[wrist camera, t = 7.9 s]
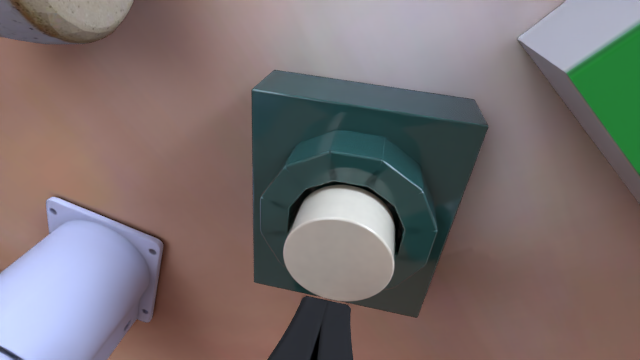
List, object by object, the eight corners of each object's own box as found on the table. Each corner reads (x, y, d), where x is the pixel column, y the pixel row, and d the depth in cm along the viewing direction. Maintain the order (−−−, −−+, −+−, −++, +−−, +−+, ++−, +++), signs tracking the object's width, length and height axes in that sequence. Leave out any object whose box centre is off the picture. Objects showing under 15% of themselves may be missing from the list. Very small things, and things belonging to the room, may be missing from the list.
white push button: (385, 270, 15) (382, 311, 14) (294, 252, 16) (280, 289, 14) (405, 194, 13) (406, 231, 11) (299, 175, 14) (284, 208, 12)
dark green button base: (415, 276, 21) (419, 353, 17) (270, 246, 22) (240, 312, 18) (475, 98, 15) (502, 150, 11) (273, 69, 16) (230, 106, 12)
